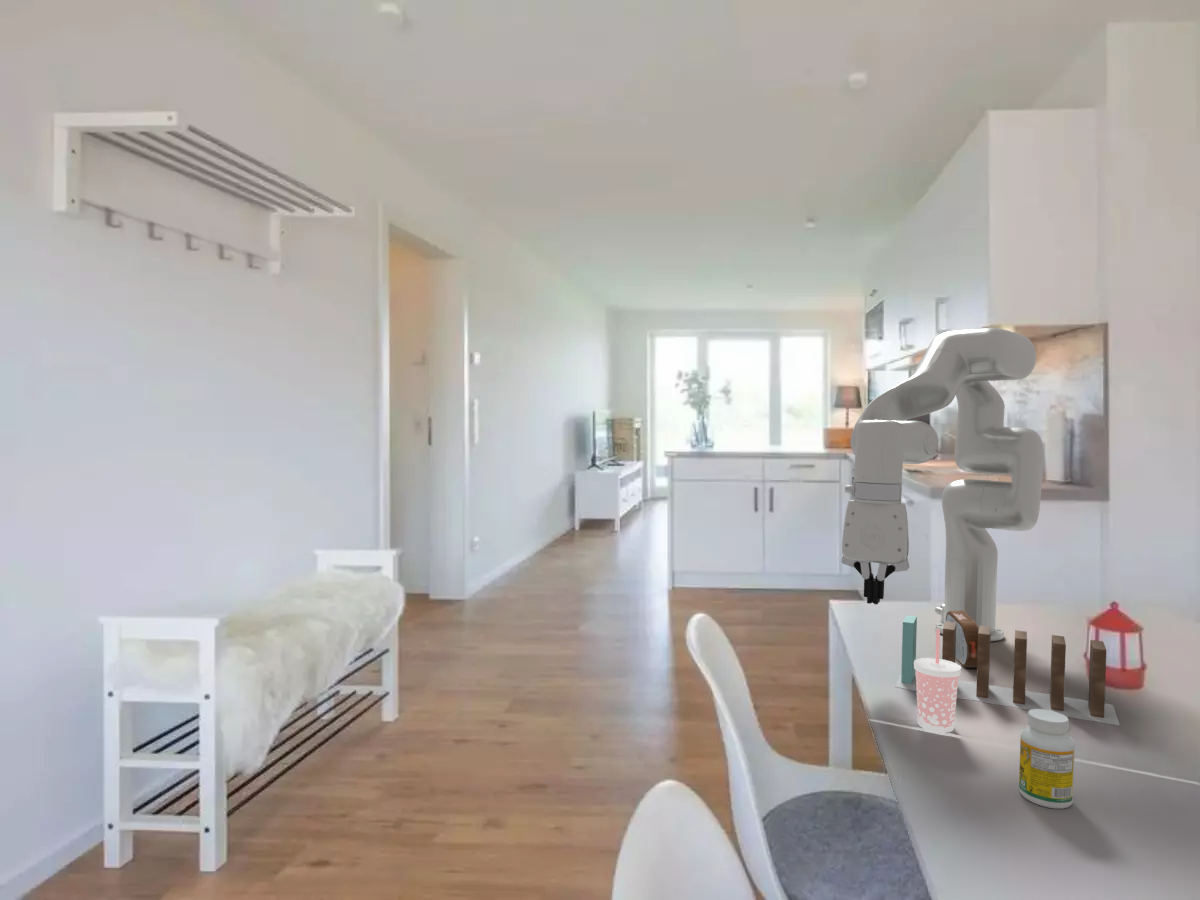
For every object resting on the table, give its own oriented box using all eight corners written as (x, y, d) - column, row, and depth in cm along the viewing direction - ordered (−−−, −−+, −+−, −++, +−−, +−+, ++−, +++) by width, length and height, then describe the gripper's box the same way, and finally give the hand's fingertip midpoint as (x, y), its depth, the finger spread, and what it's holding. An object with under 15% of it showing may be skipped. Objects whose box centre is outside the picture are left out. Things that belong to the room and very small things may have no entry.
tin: (984, 675, 128) (985, 626, 127) (964, 674, 128) (965, 625, 128) (960, 649, 143) (961, 605, 142) (942, 648, 143) (943, 604, 143)
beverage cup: (939, 739, 101) (942, 637, 101) (902, 723, 107) (904, 626, 106) (969, 731, 104) (972, 632, 103) (931, 716, 109) (934, 621, 109)
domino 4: (1012, 702, 114) (1014, 637, 114) (1013, 692, 119) (1015, 630, 118) (1024, 704, 113) (1026, 639, 113) (1024, 694, 118) (1026, 631, 117)
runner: (894, 688, 121) (894, 686, 121) (902, 672, 129) (902, 670, 129) (1119, 727, 106) (1119, 725, 106) (1112, 706, 114) (1112, 704, 114)
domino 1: (901, 682, 123) (902, 621, 123) (905, 673, 127) (906, 615, 127) (911, 683, 122) (913, 623, 122) (915, 675, 127) (916, 616, 126)
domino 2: (941, 690, 119) (942, 628, 119) (944, 681, 124) (945, 621, 123) (952, 692, 118) (954, 629, 118) (954, 683, 123) (956, 622, 122)
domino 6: (1090, 715, 109) (1093, 648, 109) (1088, 704, 114) (1090, 639, 113) (1104, 718, 109) (1106, 649, 108) (1100, 706, 113) (1103, 641, 113)
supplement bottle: (1068, 815, 82) (1071, 728, 82) (1013, 799, 85) (1016, 716, 85) (1076, 796, 86) (1079, 714, 86) (1023, 782, 89) (1026, 702, 89)
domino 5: (1050, 709, 112) (1053, 642, 111) (1049, 698, 116) (1051, 634, 116) (1063, 711, 111) (1065, 644, 111) (1061, 700, 115) (1064, 636, 115)
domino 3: (976, 696, 117) (978, 633, 116) (977, 686, 121) (979, 625, 121) (987, 698, 116) (989, 634, 116) (988, 688, 120) (990, 627, 120)
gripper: (826, 492, 126) (823, 600, 126) (923, 497, 118) (918, 613, 119) (836, 489, 132) (832, 593, 133) (928, 495, 125) (924, 604, 125)
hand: (873, 602), depth 126 cm, fingers closed
